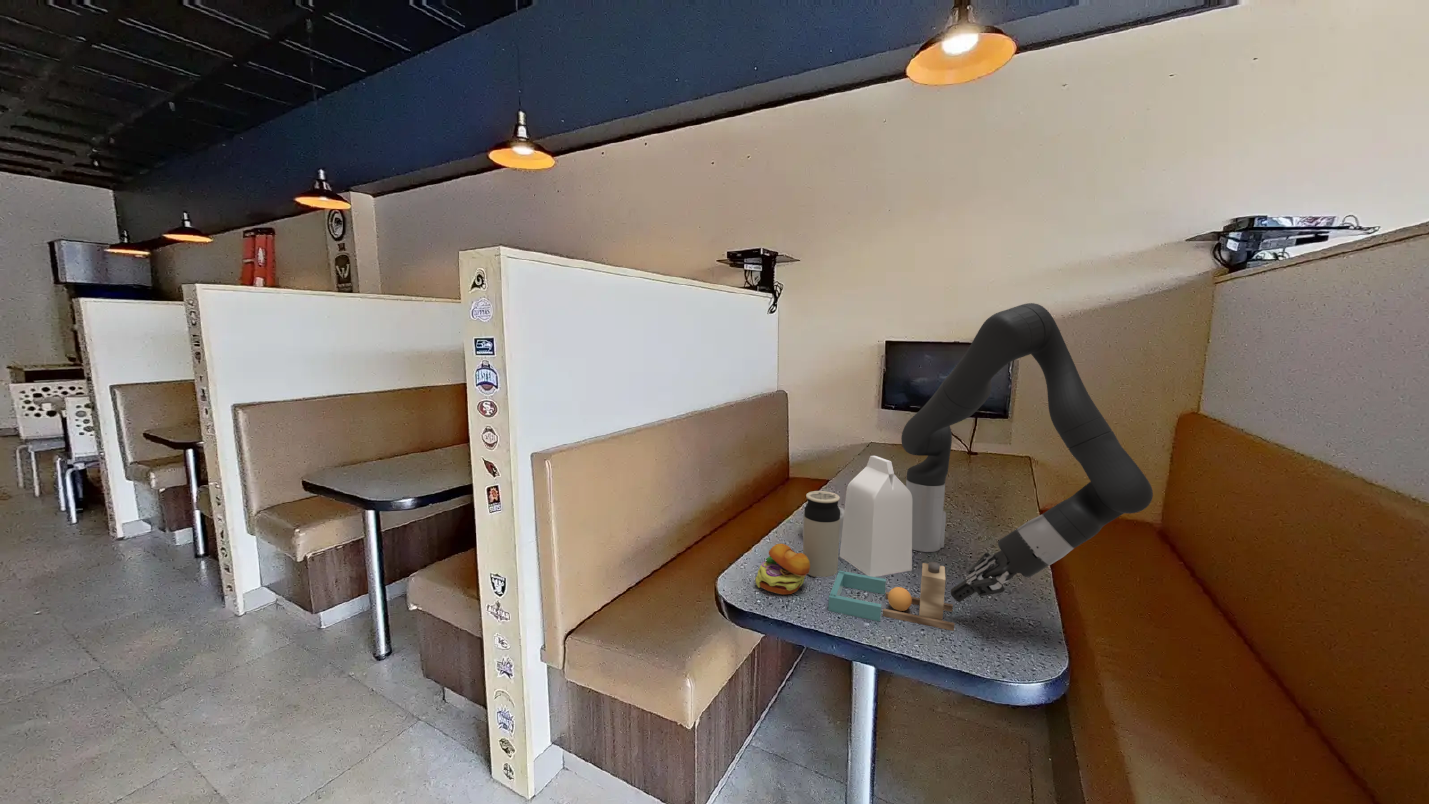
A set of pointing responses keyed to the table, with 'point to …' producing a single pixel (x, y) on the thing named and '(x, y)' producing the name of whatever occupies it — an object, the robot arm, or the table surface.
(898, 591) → the ball
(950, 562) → the table surface
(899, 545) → the milk
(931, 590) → the tan rectangular block
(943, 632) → the table surface
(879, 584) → the teal u-shaped frame
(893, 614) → the channel
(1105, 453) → the robot arm
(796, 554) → the cheeseburger
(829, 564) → the travel mug
